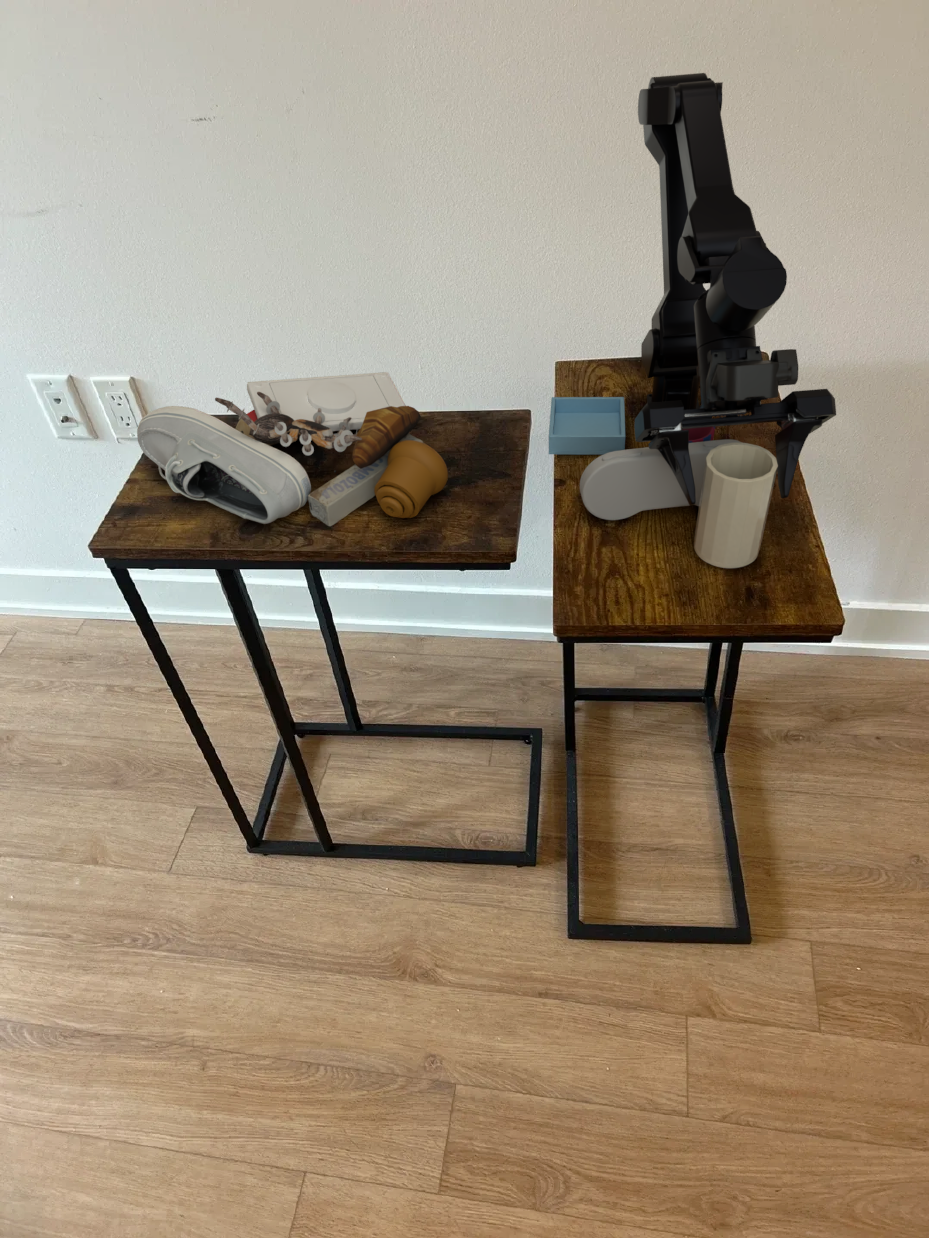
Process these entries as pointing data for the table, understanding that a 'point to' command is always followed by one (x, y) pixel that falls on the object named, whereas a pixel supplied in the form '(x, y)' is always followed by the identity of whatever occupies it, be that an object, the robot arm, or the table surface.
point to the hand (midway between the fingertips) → (738, 501)
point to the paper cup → (734, 504)
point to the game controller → (639, 481)
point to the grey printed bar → (348, 490)
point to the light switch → (328, 397)
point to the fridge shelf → (586, 425)
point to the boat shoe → (222, 464)
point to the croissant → (383, 432)
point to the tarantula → (293, 428)
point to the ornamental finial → (410, 478)
